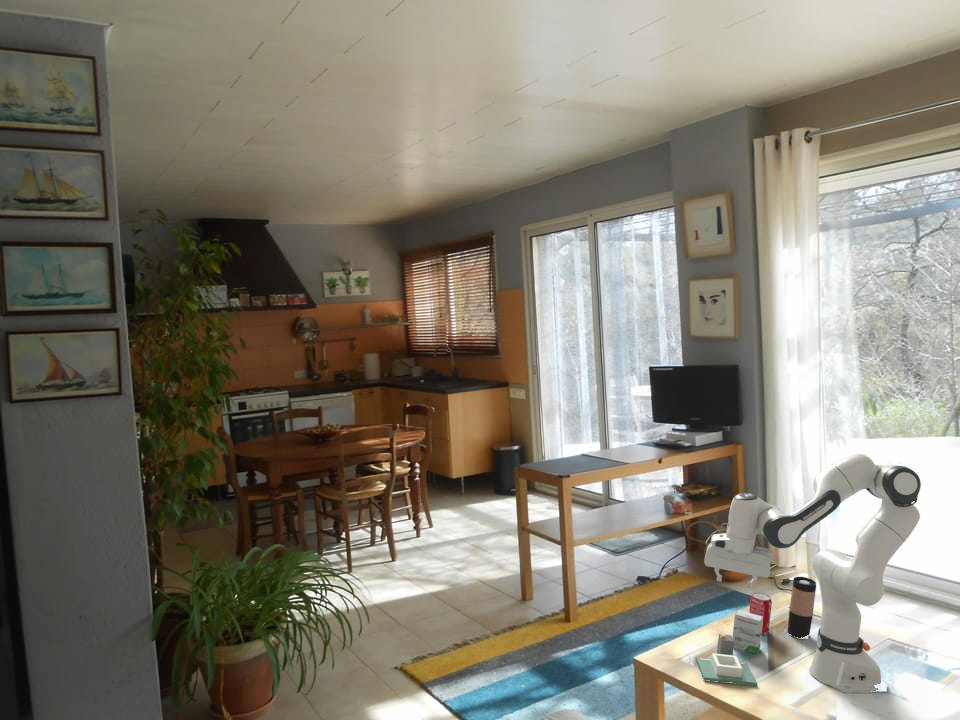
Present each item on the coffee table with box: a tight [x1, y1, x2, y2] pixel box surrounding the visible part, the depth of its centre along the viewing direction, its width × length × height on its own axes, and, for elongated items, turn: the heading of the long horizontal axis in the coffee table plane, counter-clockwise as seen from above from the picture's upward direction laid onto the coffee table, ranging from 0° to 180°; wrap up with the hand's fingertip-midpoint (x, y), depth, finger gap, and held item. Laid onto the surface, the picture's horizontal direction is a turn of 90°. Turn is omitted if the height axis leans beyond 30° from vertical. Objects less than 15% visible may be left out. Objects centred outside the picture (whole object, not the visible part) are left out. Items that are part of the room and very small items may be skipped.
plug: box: [716, 633, 735, 656], centre depth 244 cm, size 4×4×8 cm
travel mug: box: [787, 576, 817, 638], centre depth 263 cm, size 8×8×20 cm
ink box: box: [732, 609, 763, 655], centre depth 251 cm, size 9×5×12 cm, turn 60°
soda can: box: [748, 591, 773, 635], centre depth 264 cm, size 7×7×13 cm
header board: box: [695, 653, 758, 687], centre depth 234 cm, size 16×12×4 cm
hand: (734, 584), depth 240 cm, fingers open, 8 cm apart
